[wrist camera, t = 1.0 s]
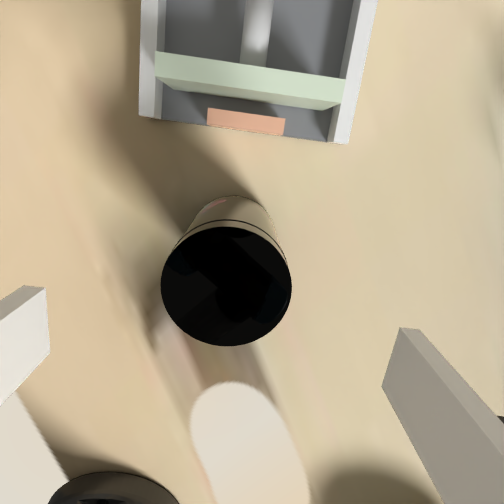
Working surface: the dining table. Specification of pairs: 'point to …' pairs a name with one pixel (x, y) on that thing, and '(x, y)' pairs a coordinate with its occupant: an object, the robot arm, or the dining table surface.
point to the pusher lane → (278, 57)
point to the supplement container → (227, 275)
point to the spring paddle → (250, 71)
